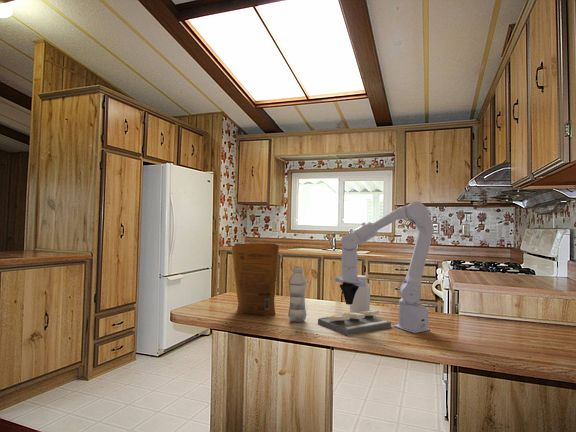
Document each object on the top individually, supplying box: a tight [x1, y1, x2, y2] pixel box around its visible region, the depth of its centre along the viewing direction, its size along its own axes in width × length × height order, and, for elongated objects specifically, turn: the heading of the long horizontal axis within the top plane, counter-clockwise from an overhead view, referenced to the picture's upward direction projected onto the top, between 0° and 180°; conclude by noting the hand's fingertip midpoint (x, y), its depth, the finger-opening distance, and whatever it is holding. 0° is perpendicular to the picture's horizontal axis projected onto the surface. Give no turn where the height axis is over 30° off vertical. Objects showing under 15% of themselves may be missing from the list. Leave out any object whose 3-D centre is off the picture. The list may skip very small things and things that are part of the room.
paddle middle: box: [343, 311, 365, 319], centre depth 132 cm, size 7×4×1 cm, turn 32°
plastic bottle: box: [287, 266, 307, 323], centre depth 136 cm, size 6×7×20 cm
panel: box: [317, 312, 392, 336], centre depth 132 cm, size 16×20×3 cm
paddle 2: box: [358, 310, 380, 316], centre depth 136 cm, size 7×4×1 cm, turn 32°
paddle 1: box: [328, 314, 350, 320], centre depth 128 cm, size 7×4×1 cm, turn 32°
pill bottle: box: [349, 274, 371, 313], centre depth 151 cm, size 8×8×15 cm
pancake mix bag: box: [231, 242, 280, 316], centre depth 147 cm, size 7×19×28 cm, turn 73°
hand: (349, 304), depth 134 cm, fingers closed
